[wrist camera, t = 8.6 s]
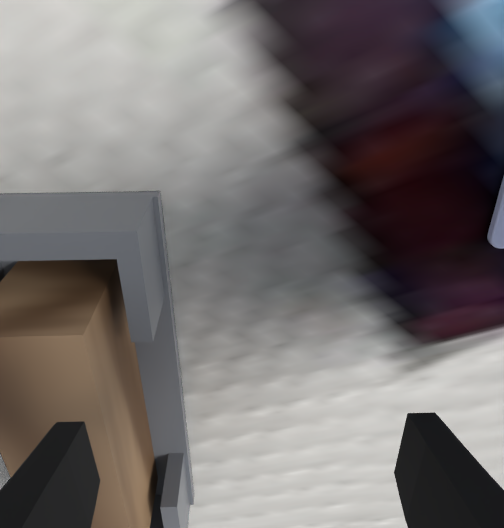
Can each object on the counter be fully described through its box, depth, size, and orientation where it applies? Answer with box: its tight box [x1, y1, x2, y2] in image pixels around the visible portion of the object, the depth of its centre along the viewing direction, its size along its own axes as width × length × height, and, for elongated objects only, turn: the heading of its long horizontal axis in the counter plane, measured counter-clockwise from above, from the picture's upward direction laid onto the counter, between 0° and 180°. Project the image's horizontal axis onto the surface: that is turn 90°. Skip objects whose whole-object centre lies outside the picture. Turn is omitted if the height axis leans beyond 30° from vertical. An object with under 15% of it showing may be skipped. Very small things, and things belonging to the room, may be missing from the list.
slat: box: [0, 259, 158, 528], centre depth 20 cm, size 4×14×5 cm, turn 1°
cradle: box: [0, 191, 194, 528], centre depth 21 cm, size 8×19×4 cm, turn 0°
